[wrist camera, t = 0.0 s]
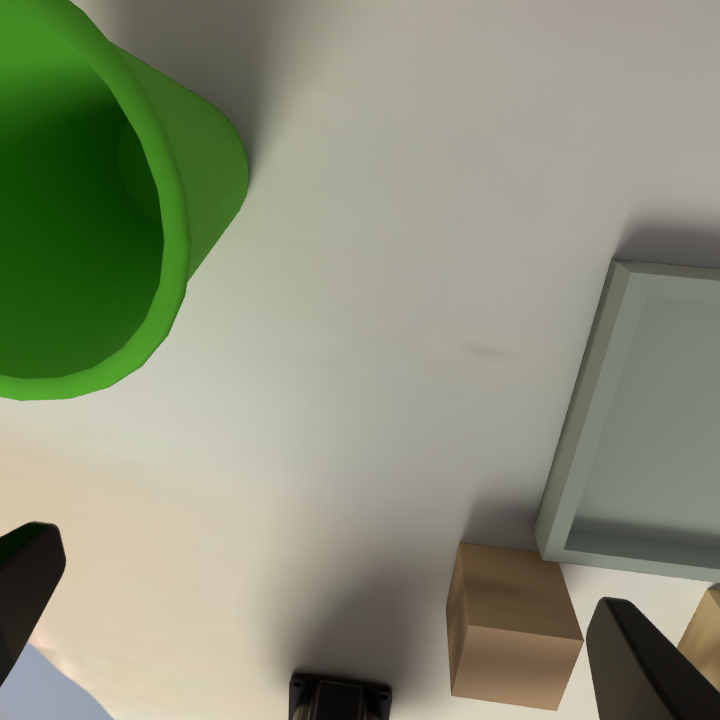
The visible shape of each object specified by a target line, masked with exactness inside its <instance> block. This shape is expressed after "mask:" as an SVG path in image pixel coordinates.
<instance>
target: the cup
mask: <svg viewBox="0 0 720 720" xmlns="http://www.w3.org/2000/svg"><path fill="white" fill-rule="evenodd" d="M248 181H249V174H248V161H247V157H246V153H245V150H244V146H243V143H242V141H241V139H240V137H239V136H238V134H237V132H236V130H235V128H234V126H233V125H232V124H231V123H230V122H229V120H228V119H227V118H226V117H225V116H224V114H223V113H222V112H221V111H219V110H218V109H217V108H216V107H214V106H213V105H212V104H210V103H209V102H208V101H206V100H205V99H203V98H201V97H200V96H198V95H197V94H195V93H193V92H192V91H190V90H188V89H187V88H185V87H183V86H182V85H180V84H179V83H177V82H175V81H174V80H172V79H170V78H169V77H167V76H166V75H164V74H162V73H161V72H159V71H157V70H156V69H154V68H152V67H151V66H149V65H148V64H146V63H144V62H143V61H141V60H139V59H138V58H136V57H135V56H133V55H131V54H130V53H128V52H126V51H125V50H123V49H121V48H120V47H118V46H117V45H115V44H113V43H112V42H110V41H108V39H107V38H106V37H105V36H104V35H103V34H102V32H101V31H100V30H99V29H98V28H97V27H96V25H95V24H94V23H93V22H92V21H91V20H90V18H89V17H88V16H87V15H86V14H85V13H84V11H82V10H81V9H80V8H78V7H77V6H76V5H74V4H73V3H72V2H71V1H69V0H0V397H4V398H9V399H15V400H20V401H25V400H56V399H71V398H74V397H78V396H81V395H85V394H88V393H91V392H95V391H98V390H102V389H105V388H109V387H110V386H112V385H113V384H115V383H117V382H118V381H120V380H121V379H123V378H124V377H126V376H127V375H129V374H131V373H132V372H134V371H135V370H137V369H138V368H140V367H142V366H143V364H144V363H145V362H146V361H147V360H148V358H149V357H150V356H151V355H152V354H153V352H154V351H155V350H156V349H157V348H158V347H159V345H160V344H161V343H162V342H163V341H164V339H165V338H166V337H167V336H168V334H169V332H170V329H171V327H172V325H173V322H174V320H175V318H176V315H177V313H178V311H179V308H180V306H181V304H182V301H183V299H184V297H185V294H186V286H187V282H188V281H189V279H190V278H191V277H192V275H193V274H194V272H195V271H196V270H197V268H198V267H199V266H200V264H201V263H202V261H203V260H204V259H205V257H206V256H207V255H208V253H209V252H210V250H211V249H212V248H213V246H214V245H215V243H216V242H217V241H218V239H219V238H220V237H221V235H222V234H223V232H224V231H225V230H226V228H227V227H228V226H229V224H230V223H231V221H232V220H233V219H234V217H235V216H236V215H237V213H238V212H239V210H240V208H241V206H242V204H243V201H244V199H245V197H246V193H247V187H248Z"/></svg>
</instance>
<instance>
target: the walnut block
mask: <svg viewBox="0 0 720 720" xmlns="http://www.w3.org/2000/svg"><path fill="white" fill-rule="evenodd" d="M446 620H447V635H448V651H449V667H450V682H451V696H457V697H464V698H471V699H477V700H484V701H491V702H498V703H505V704H512V705H519V706H525V707H532V708H539V709H546V710H553V711H557V709H558V706H559V704H560V701H561V699H562V696H563V694H564V691H565V688H566V686H567V683H568V681H569V678H570V676H571V673H572V671H573V668H574V666H575V663H576V660H577V658H578V655H579V653H580V650H581V648H582V645H583V643H584V639H583V636H582V633H581V630H580V627H579V624H578V621H577V618H576V615H575V611H574V608H573V605H572V602H571V599H570V596H569V593H568V590H567V587H566V584H565V581H564V578H563V575H562V572H561V569H560V566H559V563H558V562H553V561H545V560H542V558H541V554H540V553H539V552H532V551H524V550H516V549H508V548H501V547H493V546H485V545H477V544H469V543H462V542H460V543H459V548H458V553H457V557H456V562H455V567H454V571H453V576H452V581H451V586H450V590H449V595H448V600H447V605H446Z"/></svg>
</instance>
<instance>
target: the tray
mask: <svg viewBox="0 0 720 720" xmlns="http://www.w3.org/2000/svg"><path fill="white" fill-rule="evenodd" d="M533 530H534V534H535V537H536V541H537V544H538V548H539V551H540V554H541V558H542V560H545V561H553V562H561V563H569V564H576V565H584V566H592V567H599V568H607V569H615V570H623V571H630V572H638V573H646V574H654V575H661V576H669V577H677V578H685V579H692V580H700V581H708V582H715V583H720V269H711V268H701V267H690V266H680V265H670V264H659V263H649V262H638V261H628V260H618V259H611V263H610V266H609V270H608V273H607V277H606V280H605V284H604V287H603V291H602V294H601V297H600V301H599V304H598V308H597V311H596V315H595V318H594V322H593V325H592V329H591V332H590V336H589V339H588V342H587V346H586V349H585V353H584V356H583V360H582V363H581V367H580V370H579V374H578V377H577V380H576V384H575V387H574V391H573V394H572V398H571V401H570V405H569V408H568V412H567V415H566V418H565V422H564V425H563V429H562V432H561V436H560V439H559V443H558V446H557V450H556V453H555V457H554V460H553V463H552V467H551V470H550V474H549V477H548V481H547V484H546V488H545V491H544V495H543V498H542V501H541V505H540V508H539V512H538V515H537V519H536V522H535V526H534V529H533Z"/></svg>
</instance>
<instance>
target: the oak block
mask: <svg viewBox="0 0 720 720" xmlns="http://www.w3.org/2000/svg"><path fill="white" fill-rule="evenodd" d="M677 649H678V650H679V651H680V652H681V653H682V654H683V655H684V656H685V657H686V658H687V659H688V660H689V661H690V662H691V663H692V664H693V665H694V666H695V668H696V669H697V670H698V671H699V672H700V673H701V674H702V675H703V676H704V677H705V678H706V679H707V680H708V681H709V682H710V683H711V684H712V685H713V686H714V687H715V688H716V689H717V690H718V691H719V692H720V590H712V589H707V590H706V592H705V594H704V596H703V598H702V599H701V601H700V603H699V605H698V607H697V609H696V611H695V613H694V615H693V617H692V619H691V621H690V623H689V625H688V627H687V629H686V631H685V633H684V635H683V636H682V638H681V640H680V642H679V644H678V646H677Z"/></svg>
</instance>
